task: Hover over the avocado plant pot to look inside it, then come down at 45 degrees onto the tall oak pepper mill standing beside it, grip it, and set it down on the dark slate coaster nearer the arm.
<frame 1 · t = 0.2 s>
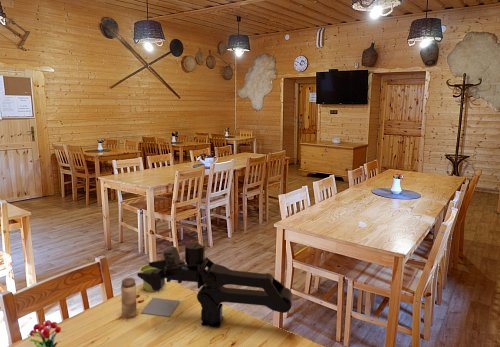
hand: (143, 269, 135), 17 cm above the table, tool horizontal, fingers open, 9 cm apart
plant pot: (152, 288, 156), on the table
oak pepper mill: (129, 314, 137), on the table
slate coaster: (160, 307, 142), on the table
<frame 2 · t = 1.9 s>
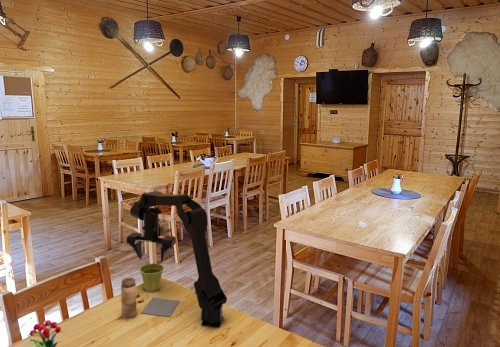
hand: (151, 260, 154), 12 cm above the table, tool pointing down, fingers open, 9 cm apart
nothing on the table moved.
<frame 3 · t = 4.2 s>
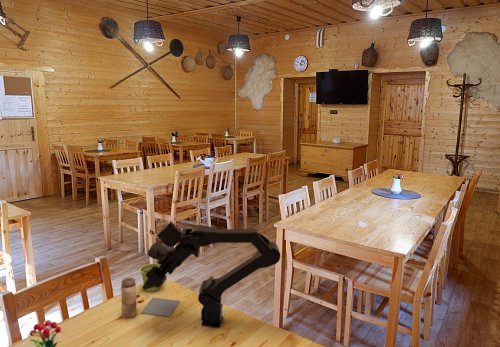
hand: (149, 282, 133), 13 cm above the table, tool tilted 45°, fingers open, 9 cm apart
nothing on the table moved.
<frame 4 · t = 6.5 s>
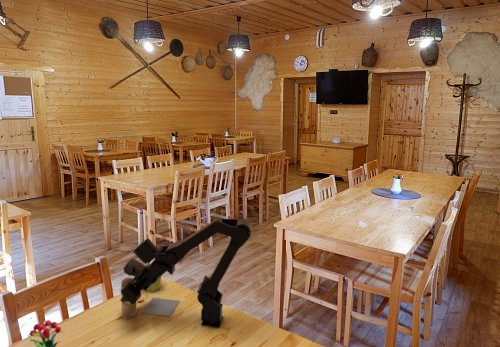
hand: (125, 297, 136), 7 cm above the table, tool tilted 45°, fingers closed on oak pepper mill, 5 cm apart
oak pepper mill: (129, 314, 137), on the table, touching gripper
everything else where it was.
when the fingers open (8 cm above the table, at t = 10.0 s): oak pepper mill stays where it is, resting on slate coaster.
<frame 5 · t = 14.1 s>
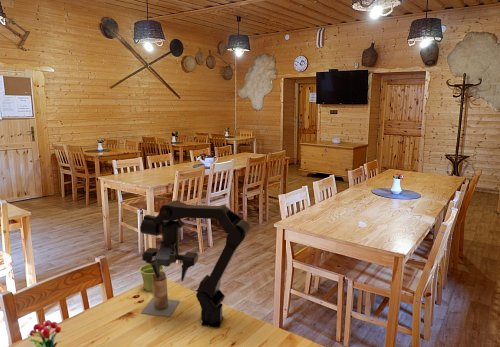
hand: (170, 279, 136), 13 cm above the table, tool pointing down, fingers open, 9 cm apart
oak pepper mill: (161, 306, 142), resting on slate coaster, touching gripper
everything else where it was.
at the end: oak pepper mill 0.1 cm from the slate coaster (horizontally); oak pepper mill tilted 3°; oak pepper mill resting on slate coaster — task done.
